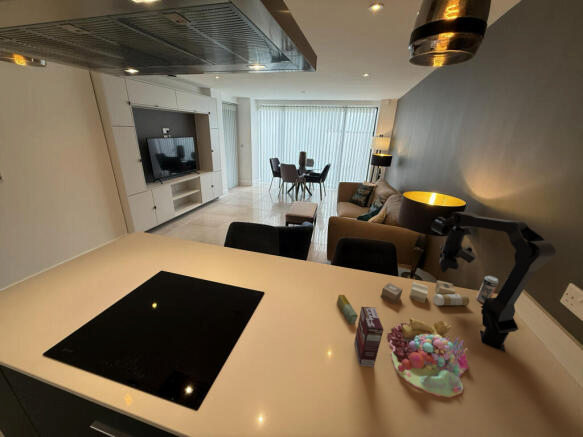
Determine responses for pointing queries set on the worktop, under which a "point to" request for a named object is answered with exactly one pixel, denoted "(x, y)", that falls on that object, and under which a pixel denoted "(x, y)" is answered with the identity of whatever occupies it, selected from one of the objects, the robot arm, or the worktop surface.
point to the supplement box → (368, 336)
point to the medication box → (347, 309)
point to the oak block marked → (444, 288)
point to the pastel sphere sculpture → (428, 357)
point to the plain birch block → (418, 292)
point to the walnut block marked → (391, 293)
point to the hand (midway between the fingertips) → (443, 272)
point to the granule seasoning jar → (450, 299)
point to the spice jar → (487, 288)
